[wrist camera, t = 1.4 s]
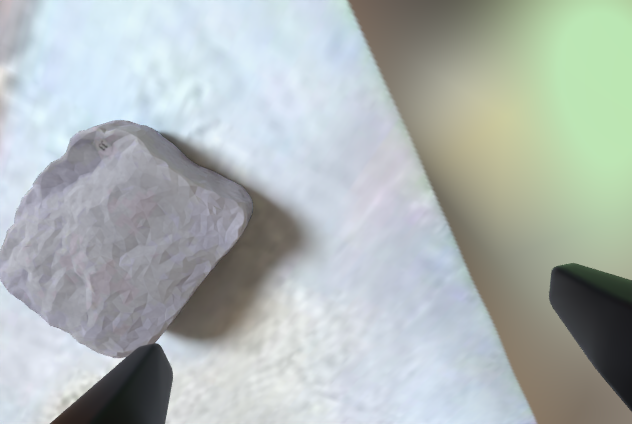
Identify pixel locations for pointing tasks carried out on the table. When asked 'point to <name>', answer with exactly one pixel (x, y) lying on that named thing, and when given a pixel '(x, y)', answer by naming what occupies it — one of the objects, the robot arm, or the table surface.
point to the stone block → (119, 236)
